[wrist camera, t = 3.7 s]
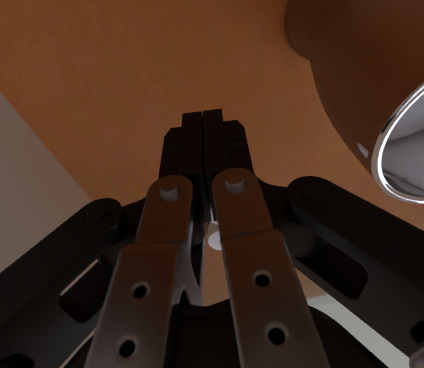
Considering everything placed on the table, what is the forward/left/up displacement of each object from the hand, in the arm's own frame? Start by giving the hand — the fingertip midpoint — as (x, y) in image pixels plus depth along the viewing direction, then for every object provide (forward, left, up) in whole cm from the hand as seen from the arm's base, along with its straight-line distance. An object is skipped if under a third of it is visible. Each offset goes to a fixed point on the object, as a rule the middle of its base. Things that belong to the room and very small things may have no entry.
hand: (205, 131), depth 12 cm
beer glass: (0, +9, -13) cm, 16 cm away
